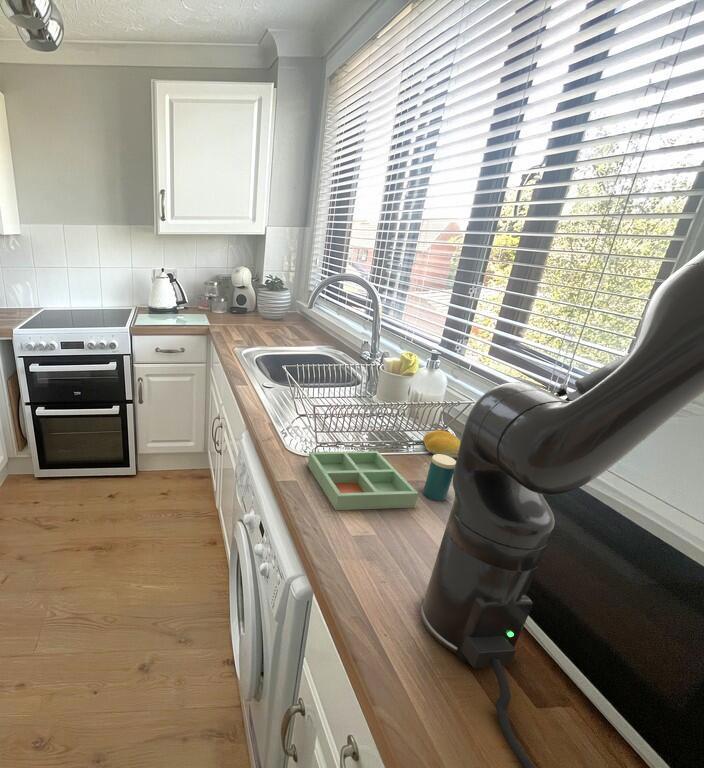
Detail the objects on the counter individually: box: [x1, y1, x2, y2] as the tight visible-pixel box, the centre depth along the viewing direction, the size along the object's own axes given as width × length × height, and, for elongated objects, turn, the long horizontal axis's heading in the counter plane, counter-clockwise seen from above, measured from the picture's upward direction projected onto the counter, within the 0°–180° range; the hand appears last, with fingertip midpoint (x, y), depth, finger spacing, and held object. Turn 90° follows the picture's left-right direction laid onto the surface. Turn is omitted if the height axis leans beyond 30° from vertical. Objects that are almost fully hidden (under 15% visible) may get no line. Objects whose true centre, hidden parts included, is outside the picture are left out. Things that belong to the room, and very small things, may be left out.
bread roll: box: [422, 429, 461, 459], centre depth 97 cm, size 8×9×4 cm
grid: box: [307, 450, 419, 511], centre depth 83 cm, size 15×15×3 cm
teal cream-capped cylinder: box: [422, 454, 456, 502], centre depth 80 cm, size 4×4×8 cm
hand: (517, 437), depth 72 cm, fingers open, 8 cm apart
